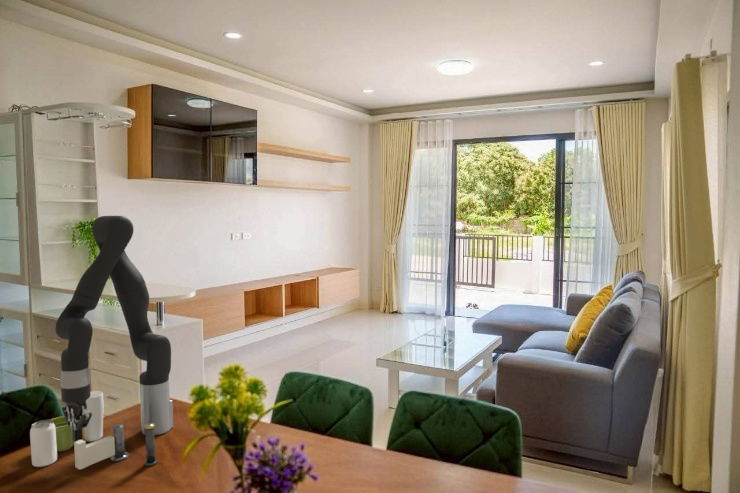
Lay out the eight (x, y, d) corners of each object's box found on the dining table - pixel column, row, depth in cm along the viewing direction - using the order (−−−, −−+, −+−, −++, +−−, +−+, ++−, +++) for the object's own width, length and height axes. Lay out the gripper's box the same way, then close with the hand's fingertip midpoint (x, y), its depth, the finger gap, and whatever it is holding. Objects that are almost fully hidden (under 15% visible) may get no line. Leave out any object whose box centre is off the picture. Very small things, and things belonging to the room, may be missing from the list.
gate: (110, 452, 158) (109, 428, 157) (115, 454, 156) (114, 430, 156) (75, 467, 149) (74, 442, 148) (79, 469, 147) (78, 444, 147)
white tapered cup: (95, 443, 168) (93, 398, 167) (77, 442, 170) (74, 397, 168) (110, 435, 175) (107, 391, 174) (92, 433, 176) (90, 390, 175)
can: (30, 469, 152) (28, 429, 151) (33, 460, 158) (30, 421, 157) (56, 464, 155) (54, 425, 154) (58, 455, 161) (55, 417, 160)
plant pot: (41, 448, 166) (39, 421, 165) (73, 438, 172) (72, 413, 172) (50, 457, 159) (48, 430, 159) (83, 447, 166) (82, 420, 165)
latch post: (152, 459, 157) (151, 421, 156) (160, 462, 155) (158, 424, 154) (141, 464, 154) (140, 425, 153) (149, 467, 152) (147, 428, 151)
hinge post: (122, 452, 162) (121, 421, 161) (132, 456, 159) (130, 424, 159) (107, 458, 158) (105, 426, 157) (116, 463, 155) (114, 430, 154)
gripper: (100, 383, 153) (102, 441, 154) (76, 376, 160) (78, 431, 161) (74, 391, 147) (76, 451, 148) (51, 382, 154) (53, 440, 155)
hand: (77, 440), depth 154 cm, fingers closed
